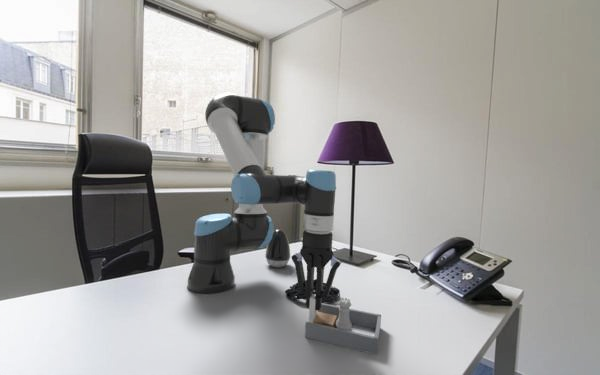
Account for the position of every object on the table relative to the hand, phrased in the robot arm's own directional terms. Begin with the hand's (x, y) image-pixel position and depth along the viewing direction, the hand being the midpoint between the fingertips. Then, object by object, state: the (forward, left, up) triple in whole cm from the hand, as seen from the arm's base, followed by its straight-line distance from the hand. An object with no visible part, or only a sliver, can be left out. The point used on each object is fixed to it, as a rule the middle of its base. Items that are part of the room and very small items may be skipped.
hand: (312, 320), depth 76 cm
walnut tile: (+3, 0, -1) cm, 3 cm away
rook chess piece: (+8, +1, -1) cm, 8 cm away
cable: (-6, +18, -2) cm, 19 cm away
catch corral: (+8, 0, -1) cm, 8 cm away
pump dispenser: (-27, +39, -1) cm, 47 cm away
